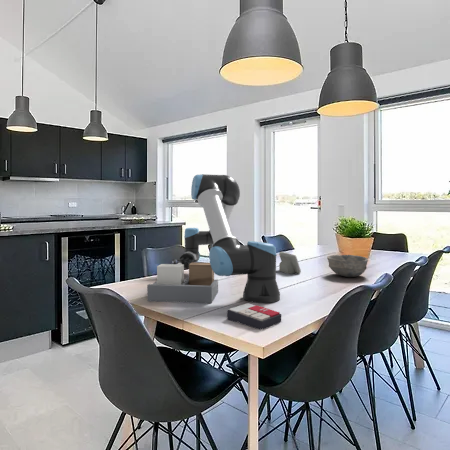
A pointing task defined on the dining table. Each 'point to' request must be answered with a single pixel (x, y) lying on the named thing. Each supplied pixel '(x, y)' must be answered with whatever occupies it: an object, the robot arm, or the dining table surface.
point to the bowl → (347, 265)
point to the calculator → (254, 316)
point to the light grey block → (170, 274)
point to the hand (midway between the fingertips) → (177, 268)
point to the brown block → (200, 274)
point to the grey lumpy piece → (289, 263)
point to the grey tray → (182, 292)
